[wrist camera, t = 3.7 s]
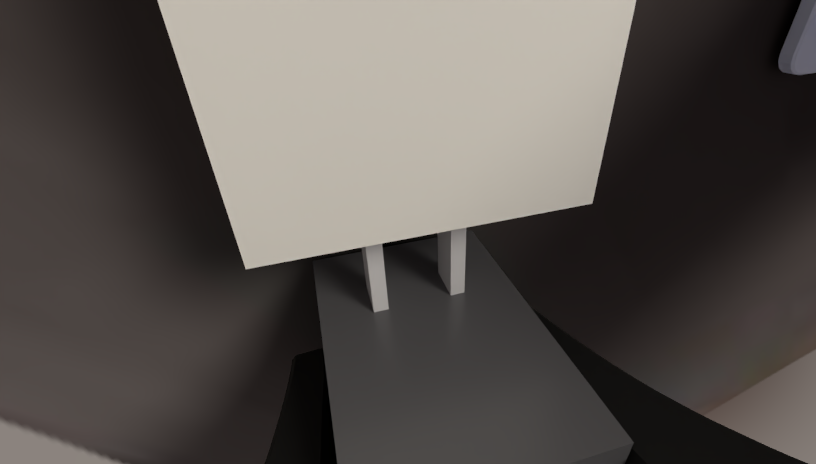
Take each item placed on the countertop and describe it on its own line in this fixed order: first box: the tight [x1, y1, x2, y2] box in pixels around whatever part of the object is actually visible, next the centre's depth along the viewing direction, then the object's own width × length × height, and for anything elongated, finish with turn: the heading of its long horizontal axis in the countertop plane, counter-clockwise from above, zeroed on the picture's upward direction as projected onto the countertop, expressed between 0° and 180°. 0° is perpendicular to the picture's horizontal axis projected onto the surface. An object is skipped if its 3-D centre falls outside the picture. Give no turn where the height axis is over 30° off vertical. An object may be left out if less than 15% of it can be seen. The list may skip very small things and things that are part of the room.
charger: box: [313, 228, 634, 464], centre depth 8 cm, size 4×6×6 cm, turn 4°
